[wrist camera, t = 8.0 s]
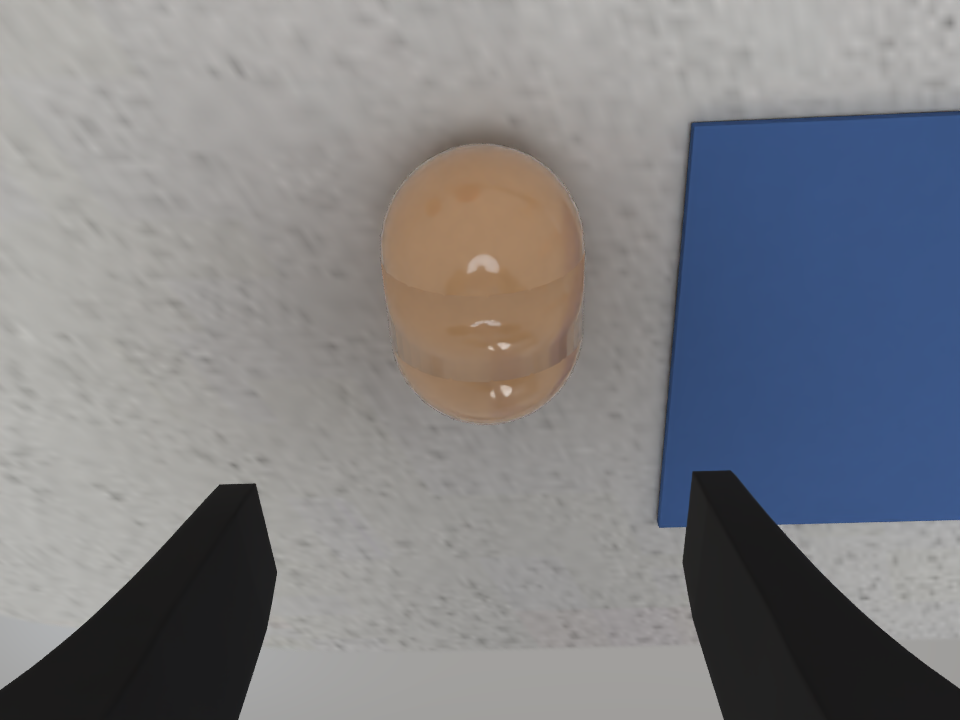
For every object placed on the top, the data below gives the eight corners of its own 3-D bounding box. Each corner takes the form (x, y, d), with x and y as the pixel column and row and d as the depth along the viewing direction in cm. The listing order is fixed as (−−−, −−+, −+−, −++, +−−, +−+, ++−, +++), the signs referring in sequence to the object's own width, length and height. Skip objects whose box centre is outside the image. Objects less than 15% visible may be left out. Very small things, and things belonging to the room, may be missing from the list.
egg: (549, 347, 23) (609, 443, 19) (386, 375, 22) (417, 481, 18) (548, 107, 19) (620, 169, 16) (356, 130, 19) (385, 201, 15)
